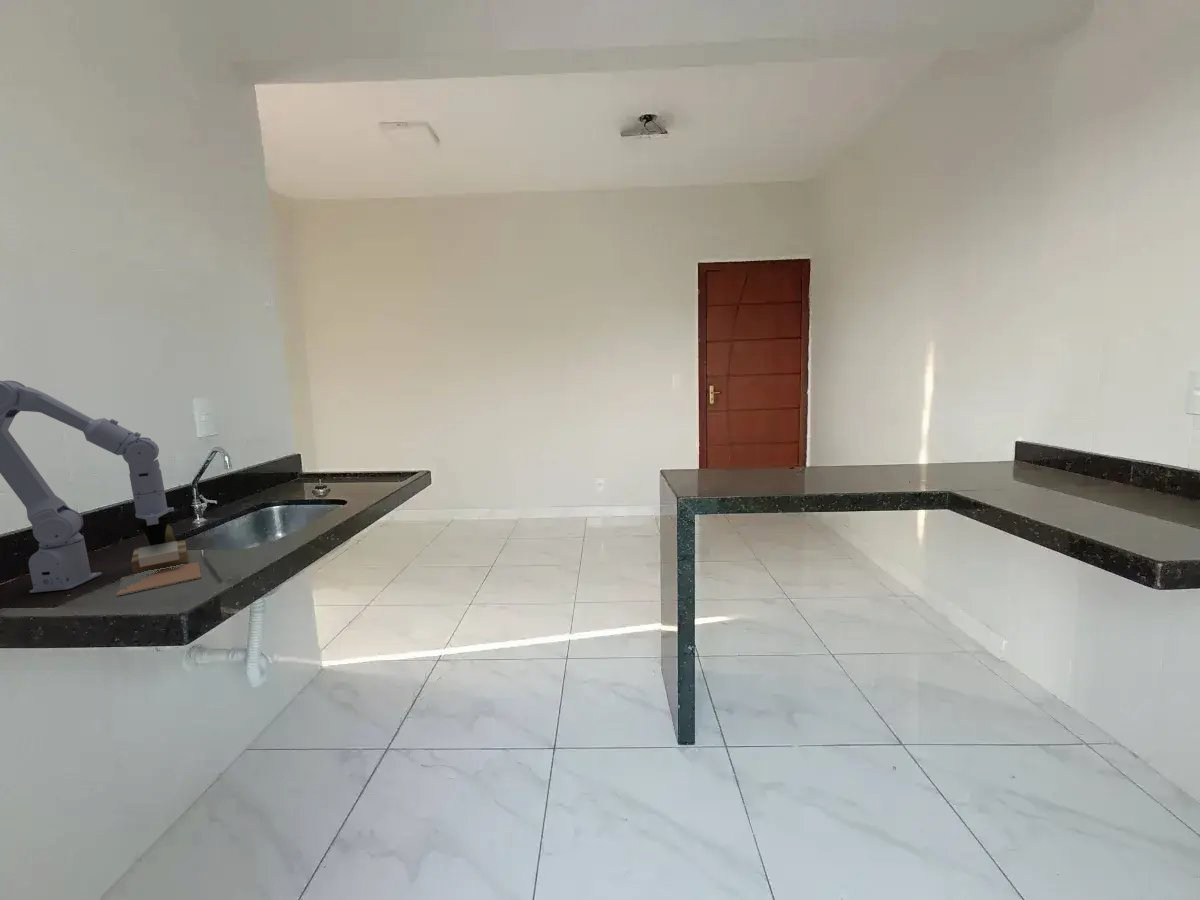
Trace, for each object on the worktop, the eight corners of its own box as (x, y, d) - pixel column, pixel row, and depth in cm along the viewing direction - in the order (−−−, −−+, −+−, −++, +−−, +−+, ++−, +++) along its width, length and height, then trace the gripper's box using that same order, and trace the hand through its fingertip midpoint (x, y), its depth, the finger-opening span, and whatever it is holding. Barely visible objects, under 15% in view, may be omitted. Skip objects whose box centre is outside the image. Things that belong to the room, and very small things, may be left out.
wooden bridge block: (136, 561, 142) (134, 549, 142) (187, 551, 148) (185, 540, 148) (133, 575, 131) (131, 562, 131) (188, 564, 137) (186, 551, 136)
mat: (121, 579, 129) (121, 577, 129) (199, 563, 137) (198, 561, 137) (116, 596, 118) (116, 594, 118) (201, 578, 126) (201, 576, 126)
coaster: (140, 556, 134) (138, 547, 133) (178, 549, 138) (176, 540, 137) (139, 567, 128) (138, 558, 128) (179, 559, 132) (177, 550, 132)
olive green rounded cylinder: (141, 527, 154) (144, 536, 146) (168, 518, 158) (173, 527, 149) (149, 548, 156) (152, 558, 147) (176, 539, 159) (181, 549, 151)
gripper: (170, 492, 131) (180, 552, 133) (170, 485, 143) (179, 540, 145) (130, 498, 127) (141, 560, 129) (133, 490, 139) (143, 547, 141)
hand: (159, 550), depth 137 cm, fingers closed
